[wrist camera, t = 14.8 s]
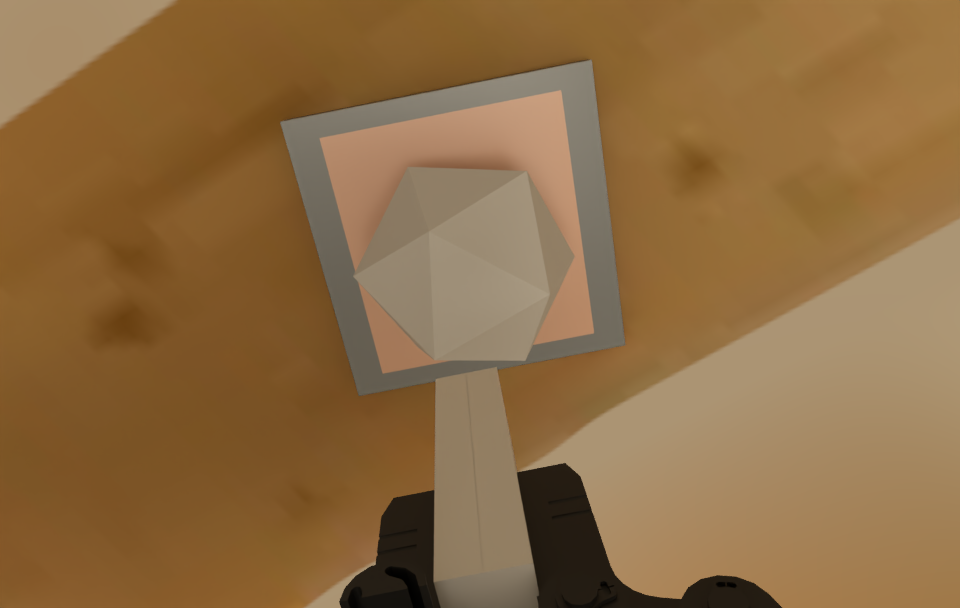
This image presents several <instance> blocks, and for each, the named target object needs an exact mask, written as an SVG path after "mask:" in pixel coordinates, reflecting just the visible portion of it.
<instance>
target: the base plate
mask: <svg viewBox="0 0 960 608" xmlns="http://www.w3.org/2000/svg"><path fill="white" fill-rule="evenodd" d="M280 123H281V126H282V130H283V133H284V137H285V140H286V144H287V147H288V151H289V154H290V158H291V161H292V165H293V168H294V172H295V175H296V179H297V182H298V186H299V189H300V193H301V196H302V200H303V203H304V207H305V210H306V213H307V217H308V220H309V224H310V227H311V231H312V234H313V238H314V241H315V245H316V248H317V252H318V255H319V259H320V262H321V266H322V269H323V273H324V276H325V280H326V283H327V287H328V290H329V294H330V297H331V301H332V304H333V307H334V311H335V314H336V318H337V321H338V325H339V328H340V332H341V335H342V339H343V342H344V346H345V349H346V353H347V356H348V360H349V363H350V367H351V370H352V374H353V377H354V381H355V384H356V388H357V391H358V395H359V396H362V395H367V394H372V393H377V392H383V391H388V390H393V389H398V388H404V387H409V386H414V385H419V384H425V383H430V382H435V381H436V379H438V378H443V377H448V376H453V375H458V374H464V373H469V372H474V371H479V370H484V369H489V368H494V367H497V370H498V369H503V368H509V367H514V366H519V365H524V364H530V363H535V362H540V361H545V360H551V359H556V358H561V357H566V356H572V355H577V354H582V353H587V352H593V351H598V350H603V349H608V348H614V347H619V346H624V345H625V338H624V330H623V321H622V313H621V304H620V296H619V287H618V279H617V270H616V262H615V253H614V245H613V236H612V228H611V220H610V211H609V203H608V194H607V186H606V177H605V169H604V160H603V152H602V143H601V135H600V126H599V118H598V109H597V101H596V92H595V84H594V75H593V67H592V60H583V61H578V62H573V63H568V64H563V65H558V66H553V67H548V68H543V69H538V70H533V71H528V72H523V73H518V74H513V75H508V76H503V77H498V78H493V79H488V80H483V81H478V82H473V83H468V84H463V85H458V86H453V87H448V88H443V89H438V90H433V91H428V92H423V93H418V94H413V95H408V96H403V97H398V98H393V99H388V100H383V101H378V102H373V103H368V104H362V105H357V106H352V107H347V108H342V109H337V110H332V111H327V112H322V113H317V114H312V115H307V116H302V117H297V118H292V119H287V120H284V121H281V122H280ZM407 167H429V168H457V169H485V170H513V171H527V172H528V174H529V176H530V178H531V179H532V181H533V183H534V185H535V186H536V188H537V190H538V192H539V194H540V195H541V197H542V199H543V201H544V202H545V204H546V206H547V208H548V210H549V211H550V213H551V215H552V217H553V218H554V220H555V222H556V224H557V226H558V227H559V229H560V231H561V233H562V234H563V236H564V238H565V240H566V242H567V243H568V245H569V247H570V249H571V251H572V252H573V254H574V256H575V257H574V260H573V262H572V264H571V266H570V268H569V270H568V272H567V274H566V276H565V278H564V281H563V283H562V285H561V287H560V289H559V291H558V293H557V295H556V297H555V299H554V302H553V304H552V306H551V308H550V310H549V312H548V314H547V316H546V318H545V320H544V323H543V325H542V327H541V329H540V331H539V333H538V335H537V337H536V339H535V341H534V344H533V346H532V348H531V350H530V352H529V354H528V356H527V358H526V360H525V361H470V360H434V359H432V358H431V357H430V356H428V355H427V354H426V353H424V352H423V351H422V350H421V349H419V348H418V347H417V346H416V345H415V344H414V343H413V342H412V340H411V339H410V338H409V337H408V336H407V335H406V334H405V333H404V332H403V331H402V329H401V328H400V327H399V326H398V325H397V324H396V323H395V322H394V321H393V320H392V318H391V317H390V316H389V315H388V314H387V313H386V312H385V311H384V310H383V309H382V308H381V306H380V305H379V304H378V303H377V302H376V301H375V300H374V299H373V298H372V297H371V295H370V294H369V293H368V292H367V291H366V290H365V289H364V288H363V287H362V286H361V284H360V283H359V282H358V281H357V280H356V279H355V278H354V277H353V276H354V274H355V272H356V270H357V268H358V266H359V264H360V262H361V260H362V258H363V256H364V254H365V252H366V250H367V248H368V246H369V244H370V242H371V240H372V238H373V236H374V234H375V232H376V230H377V228H378V226H379V224H380V222H381V220H382V218H383V216H384V214H385V212H386V210H387V208H388V206H389V204H390V201H391V199H392V197H393V195H394V193H395V191H396V189H397V187H398V185H399V183H400V181H401V179H402V177H403V175H404V173H405V171H406V169H407Z"/></svg>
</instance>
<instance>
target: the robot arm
mask: <svg viewBox="0 0 960 608" xmlns="http://www.w3.org/2000/svg"><path fill="white" fill-rule="evenodd" d="M379 537H380V540H379V542H378V550H377V553H378V556H377V558H376V565H374V566H371V567H369V568H367V569H366V570H364V571H363V572H361V573H360V574H358V575H357V576H355V577H354V579H353V580H352V581H351V582H350V583H349V584H348V585H347V586H346V588H345V589H344V591H343V594H342V597H341V599H340V601H339V602H340V605H341V608H782V607H781V606H780V605H779V604H778V603H777V602H776V601H775V600H774V599H773V598H772V597H771V596H770V595H769V594H768V593H767V592H765V591H764V590H763V589H761V588H760V587H758V586H757V585H756V584H754V583H752V582H749V581H746V580H744V579H741V578H738V577H732V576H718V575H717V576H713V577H709V578H704V579H700V580H699V581H697V582H696V583H695V584H693V585H691V586H690V587H688V589H687V590H686V592H685V594H684V596H683V597H682V599H672V598H671V599H670V598H660V597H654V596H648V595H644V594H642V593H639V592H636V591H634V590H632V589H631V588H629V587H628V586H626V585H624V584H623V583H622V582H621V581H620V580H619V579H618V578H617V577H616V576H615V574H614V572H613V570H612V568H611V566H610V563H609V560H608V557H607V554H606V551H605V548H604V545H603V543H602V539H601V536H600V533H599V531H598V527H597V524H596V521H595V518H594V516H593V513H592V511H591V507H590V504H589V501H588V498H587V495H586V492H585V489H584V486H583V483H582V480H581V477H580V476H579V475H578V474H577V473H576V472H575V471H574V470H572V469H571V468H570V467H569V466H568V465H566V463H563V464H558V465H553V466H548V467H543V468H537V469H533V470H527V471H522V472H517V467H516V462H515V457H514V452H513V447H512V442H511V437H510V432H509V427H508V422H507V417H506V411H505V406H504V401H503V396H502V391H501V386H500V381H499V376H498V371H497V367H494V368H489V369H484V370H479V371H474V372H469V373H464V374H458V375H453V376H448V377H443V378H438V379H436V393H435V490H432V491H427V492H422V493H417V494H412V495H406V496H401V497H396V498H393V500H392V501H391V503H390V504H389V506H388V508H387V509H386V511H385V512H384V514H383V515H382V517H381V525H380V533H379Z"/></svg>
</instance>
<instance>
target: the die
mask: <svg viewBox="0 0 960 608" xmlns="http://www.w3.org/2000/svg"><path fill="white" fill-rule="evenodd" d="M574 257H575V256H574V254H573V252H572V251H571V249H570V247H569V245H568V243H567V242H566V240H565V238H564V236H563V234H562V233H561V231H560V229H559V227H558V226H557V224H556V222H555V220H554V218H553V217H552V215H551V213H550V211H549V210H548V208H547V206H546V204H545V202H544V201H543V199H542V197H541V195H540V194H539V192H538V190H537V188H536V186H535V185H534V183H533V181H532V179H531V178H530V176H529V174H528V172H527V171H513V170H485V169H457V168H429V167H407V169H406V171H405V173H404V175H403V177H402V179H401V181H400V183H399V185H398V187H397V189H396V191H395V193H394V195H393V197H392V199H391V201H390V204H389V206H388V208H387V210H386V212H385V214H384V216H383V218H382V220H381V222H380V224H379V226H378V228H377V230H376V232H375V234H374V236H373V238H372V240H371V242H370V244H369V246H368V248H367V250H366V252H365V254H364V256H363V258H362V260H361V262H360V264H359V266H358V268H357V270H356V272H355V274H354V276H353V277H354V278H355V279H356V280H357V281H358V282H359V283H360V284H361V286H362V287H363V288H364V289H365V290H366V291H367V292H368V293H369V294H370V295H371V297H372V298H373V299H374V300H375V301H376V302H377V303H378V304H379V305H380V306H381V308H382V309H383V310H384V311H385V312H386V313H387V314H388V315H389V316H390V317H391V318H392V320H393V321H394V322H395V323H396V324H397V325H398V326H399V327H400V328H401V329H402V331H403V332H404V333H405V334H406V335H407V336H408V337H409V338H410V339H411V340H412V342H413V343H414V344H415V345H416V346H417V347H418V348H419V349H421V350H422V351H423V352H424V353H426V354H427V355H428V356H430V357H431V358H432V359H434V360H470V361H525V360H526V358H527V356H528V354H529V352H530V350H531V348H532V346H533V344H534V341H535V339H536V337H537V335H538V333H539V331H540V329H541V327H542V325H543V323H544V320H545V318H546V316H547V314H548V312H549V310H550V308H551V306H552V304H553V302H554V299H555V297H556V295H557V293H558V291H559V289H560V287H561V285H562V283H563V281H564V278H565V276H566V274H567V272H568V270H569V268H570V266H571V264H572V262H573V260H574Z"/></svg>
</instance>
